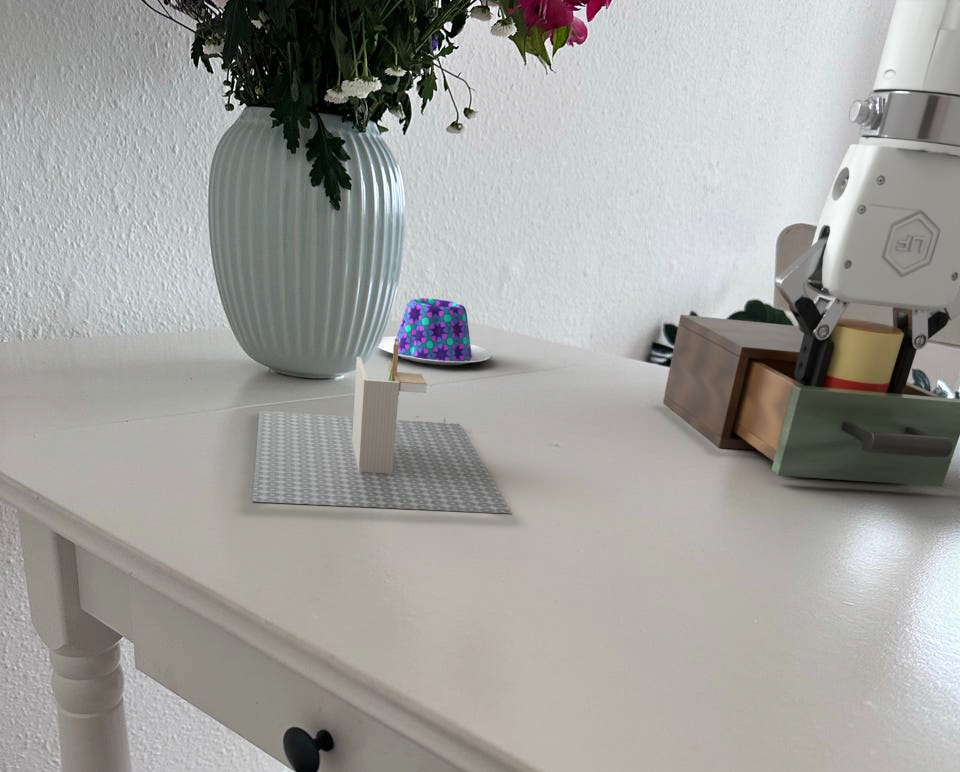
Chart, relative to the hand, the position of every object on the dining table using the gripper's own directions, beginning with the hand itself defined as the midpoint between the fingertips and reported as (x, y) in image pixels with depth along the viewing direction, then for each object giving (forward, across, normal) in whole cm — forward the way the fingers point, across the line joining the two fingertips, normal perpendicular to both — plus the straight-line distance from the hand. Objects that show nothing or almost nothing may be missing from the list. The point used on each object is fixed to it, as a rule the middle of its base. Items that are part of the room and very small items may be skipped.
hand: (846, 392), depth 74 cm
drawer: (+5, 0, -1) cm, 5 cm away
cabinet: (+6, 0, +12) cm, 13 cm away
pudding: (+6, -28, +32) cm, 43 cm away
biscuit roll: (+4, 0, 0) cm, 4 cm away
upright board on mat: (+6, -36, -4) cm, 37 cm away
